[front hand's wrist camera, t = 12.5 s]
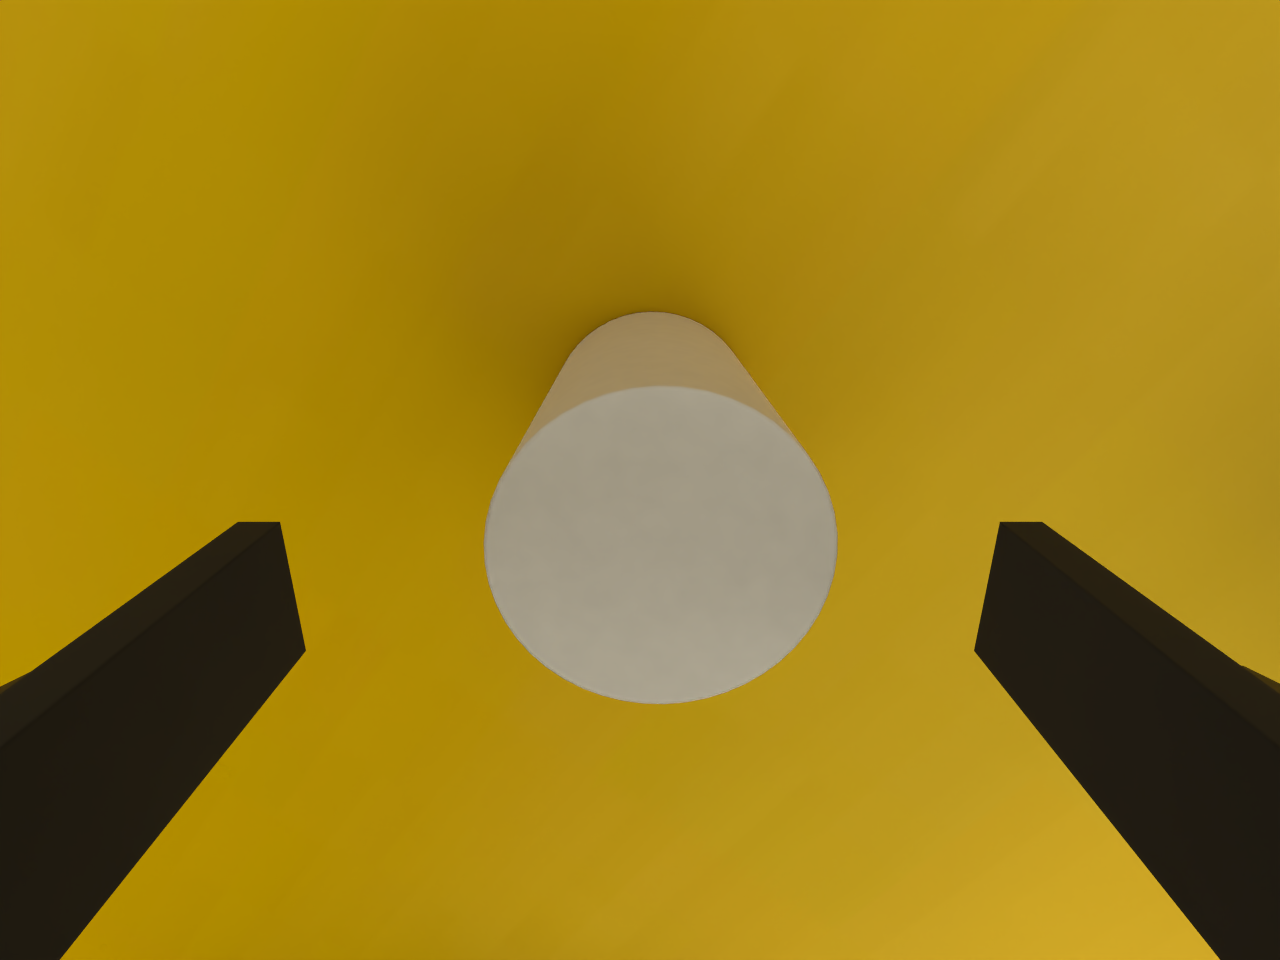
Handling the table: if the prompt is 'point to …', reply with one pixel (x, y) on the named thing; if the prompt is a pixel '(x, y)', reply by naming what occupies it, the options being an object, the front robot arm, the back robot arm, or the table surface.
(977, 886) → the table surface
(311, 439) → the table surface
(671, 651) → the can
